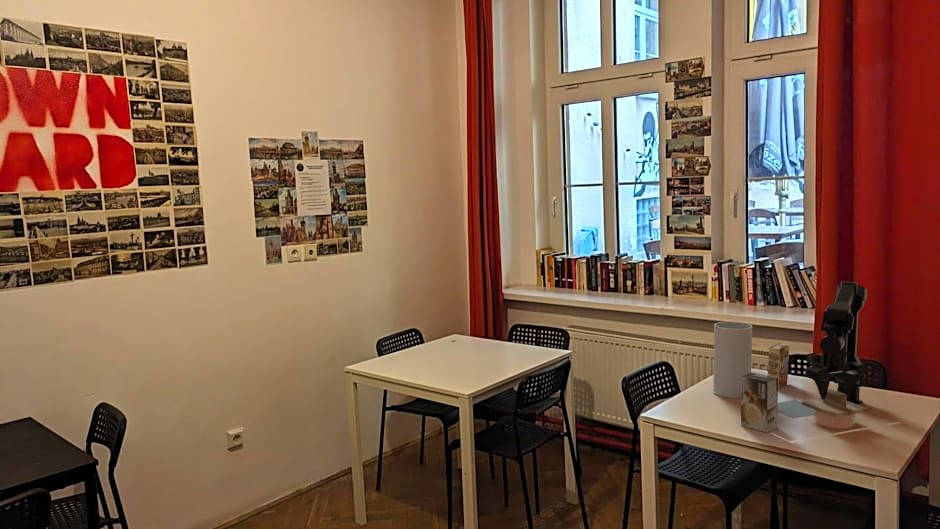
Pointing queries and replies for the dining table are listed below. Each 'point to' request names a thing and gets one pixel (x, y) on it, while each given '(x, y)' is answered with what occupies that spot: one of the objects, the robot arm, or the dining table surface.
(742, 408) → the coffee box
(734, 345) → the cylinder vase
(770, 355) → the candy box
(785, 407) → the rubber mat
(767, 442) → the dining table surface
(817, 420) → the terracotta bowl
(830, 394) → the walnut lid
